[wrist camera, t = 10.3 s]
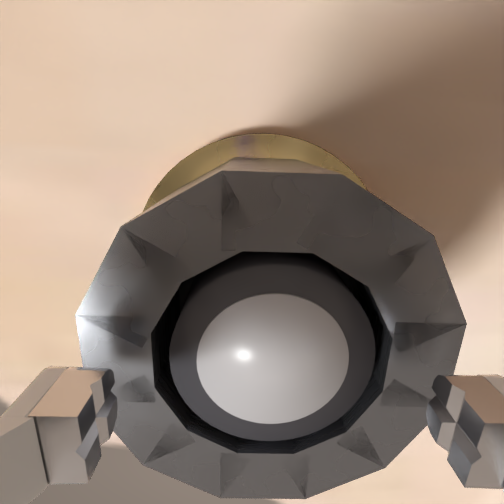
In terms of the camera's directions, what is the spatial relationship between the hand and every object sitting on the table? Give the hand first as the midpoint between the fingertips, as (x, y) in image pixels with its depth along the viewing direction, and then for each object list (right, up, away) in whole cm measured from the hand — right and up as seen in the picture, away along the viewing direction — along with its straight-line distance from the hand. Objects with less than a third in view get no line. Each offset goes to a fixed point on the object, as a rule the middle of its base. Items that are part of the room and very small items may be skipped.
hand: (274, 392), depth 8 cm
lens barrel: (0, +3, +10) cm, 10 cm away
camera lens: (0, +2, +5) cm, 5 cm away
